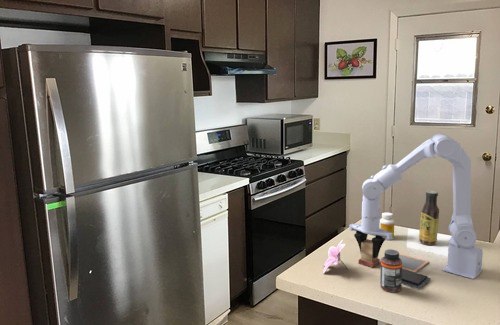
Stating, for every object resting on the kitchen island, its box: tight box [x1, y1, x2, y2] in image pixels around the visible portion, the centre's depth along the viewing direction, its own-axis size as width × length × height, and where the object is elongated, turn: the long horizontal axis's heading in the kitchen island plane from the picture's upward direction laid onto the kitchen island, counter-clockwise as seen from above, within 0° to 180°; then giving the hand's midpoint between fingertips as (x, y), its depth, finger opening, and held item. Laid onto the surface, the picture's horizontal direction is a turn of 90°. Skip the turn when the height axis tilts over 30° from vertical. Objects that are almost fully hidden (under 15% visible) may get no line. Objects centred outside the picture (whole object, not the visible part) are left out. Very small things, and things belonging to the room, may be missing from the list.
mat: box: [399, 252, 430, 273], centre depth 144 cm, size 11×11×1 cm
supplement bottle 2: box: [379, 248, 402, 293], centre depth 126 cm, size 6×6×11 cm
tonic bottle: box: [418, 189, 440, 246], centre depth 160 cm, size 6×6×20 cm
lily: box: [322, 240, 348, 275], centre depth 140 cm, size 12×12×10 cm
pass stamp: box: [358, 238, 381, 269], centre depth 144 cm, size 5×5×8 cm
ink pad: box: [401, 269, 432, 290], centre depth 132 cm, size 10×8×1 cm
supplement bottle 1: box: [379, 211, 395, 241], centre depth 167 cm, size 5×5×10 cm
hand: (369, 255), depth 144 cm, fingers closed on pass stamp, 4 cm apart
